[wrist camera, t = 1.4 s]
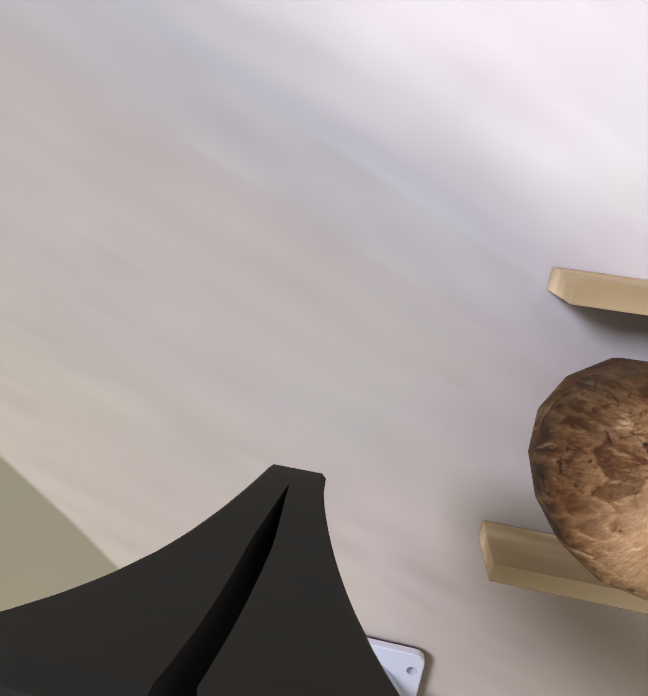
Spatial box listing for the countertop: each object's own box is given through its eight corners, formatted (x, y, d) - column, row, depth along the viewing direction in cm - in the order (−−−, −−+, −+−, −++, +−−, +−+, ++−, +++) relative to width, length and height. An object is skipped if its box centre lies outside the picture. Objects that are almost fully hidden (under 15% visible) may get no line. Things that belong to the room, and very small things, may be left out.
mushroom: (593, 638, 17) (738, 707, 11) (450, 455, 19) (510, 432, 13) (735, 503, 19) (928, 502, 13) (590, 347, 21) (699, 283, 15)
